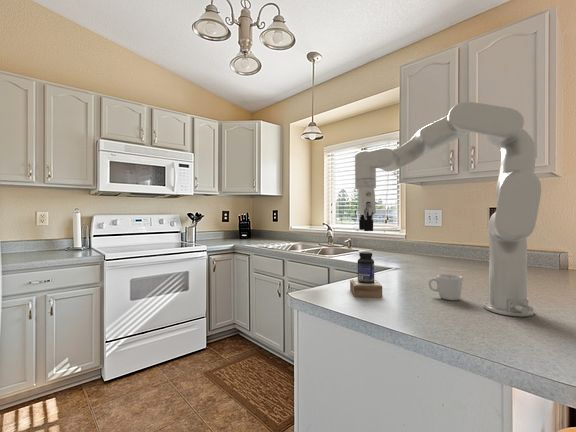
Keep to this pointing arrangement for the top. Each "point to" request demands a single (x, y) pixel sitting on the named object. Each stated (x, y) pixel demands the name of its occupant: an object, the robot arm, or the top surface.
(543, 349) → the top surface
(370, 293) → the base block
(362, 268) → the pill bottle
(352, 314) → the top surface
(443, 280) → the cup
